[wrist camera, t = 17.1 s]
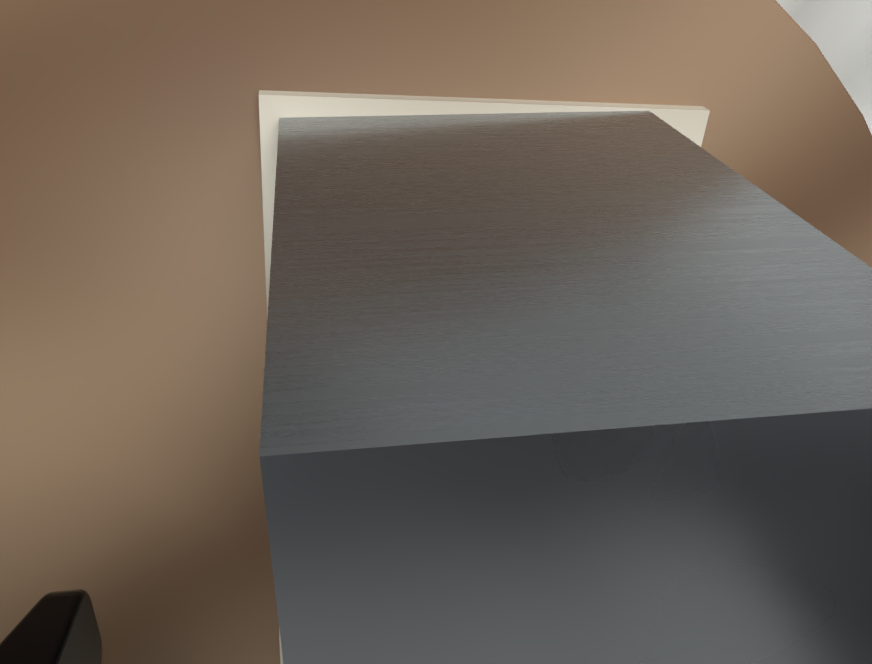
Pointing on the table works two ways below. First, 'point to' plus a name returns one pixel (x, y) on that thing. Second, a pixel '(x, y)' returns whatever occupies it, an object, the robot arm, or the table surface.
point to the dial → (252, 242)
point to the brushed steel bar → (559, 401)
